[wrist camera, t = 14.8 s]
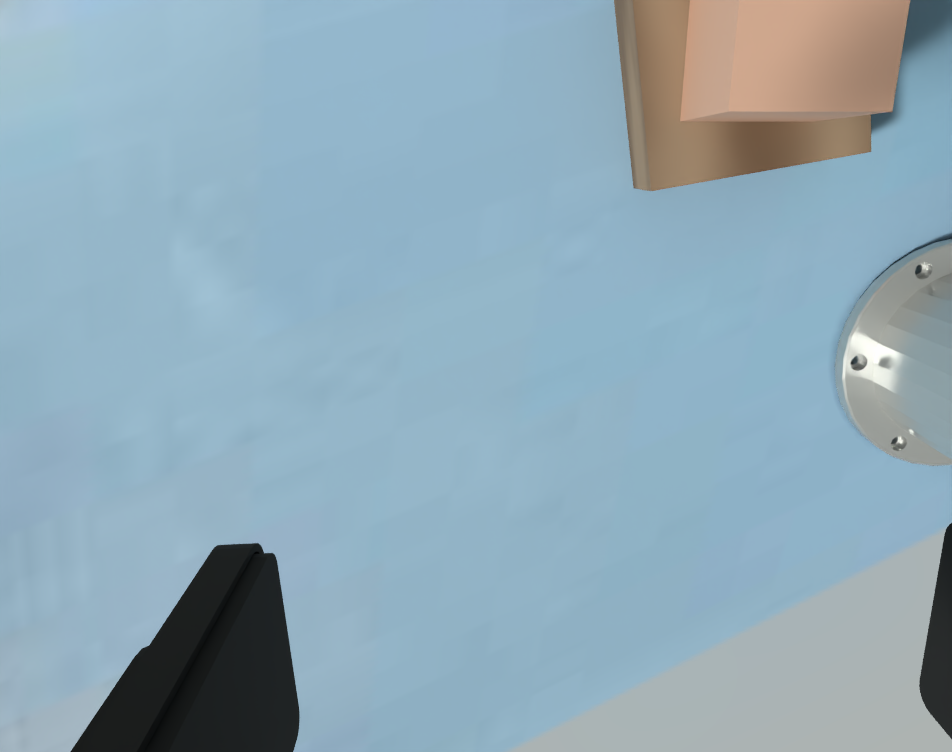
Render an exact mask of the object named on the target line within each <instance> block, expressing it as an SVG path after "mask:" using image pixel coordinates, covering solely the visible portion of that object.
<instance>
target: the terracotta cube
mask: <svg viewBox="0 0 952 752" xmlns="http://www.w3.org/2000/svg"><path fill="white" fill-rule="evenodd" d="M909 5H910V0H690V4H689V16H688V29H687V41H686V54H685V66H684V79H683V91H682V104H681V116H680V122H815V121H823V120H831V119H838V118H846V117H854V116H862V115H870V114H878V113H886V112H892V110H893V104H894V97H895V91H896V85H897V79H898V73H899V67H900V60H901V54H902V48H903V42H904V36H905V30H906V23H907V17H908V11H909Z"/></svg>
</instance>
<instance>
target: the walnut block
mask: <svg viewBox="0 0 952 752" xmlns="http://www.w3.org/2000/svg"><path fill="white" fill-rule="evenodd" d="M614 4H615V14H616V23H617V33H618V42H619V52H620V62H621V71H622V81H623V90H624V100H625V110H626V119H627V129H628V138H629V148H630V158H631V167H632V177H633V186H634V188H636V189H642V190H648V191H655V190H660V189H666V188H671V187H677V186H683V185H688V184H694V183H699V182H705V181H710V180H716V179H722V178H727V177H733V176H738V175H744V174H750V173H755V172H761V171H766V170H772V169H777V168H783V167H789V166H794V165H800V164H805V163H811V162H817V161H822V160H828V159H833V158H839V157H844V156H850V155H856V154H861V153H867V152H871V114H870V115H862V116H854V117H846V118H838V119H831V120H823V121H815V122H680V116H681V104H682V91H683V79H684V66H685V54H686V41H687V29H688V16H689V4H690V0H614Z"/></svg>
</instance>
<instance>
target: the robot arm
mask: <svg viewBox="0 0 952 752" xmlns="http://www.w3.org/2000/svg"><path fill="white" fill-rule="evenodd" d="M916 267H917V269H916ZM915 270H916V271H915ZM853 358H854V359H853ZM852 359H853V361H852ZM851 361H852V362H851ZM835 379H836V388H837V392H838V395H839V399H840V403H841V405H842V407H843V409H844V411H845V413H846V415H847V417H848V419H849V421H850V422H851V423H852V424H853V426H854V427H855V428H856V429H857V430H858V432H859V433H860V434H861V435H862V436H863V437H865V438H866V439H867V440H869V441H870V442H871V443H872V444H874V445H875V446H876V447H878V448H879V449H881V450H883V451H884V452H886V453H887V454H889V455H891V456H893V457H896V458H899V459H902V460H904V461H907V462H910V463H915V464H922V465H930V466H942V465H952V239H948V240H944V241H939V242H935V243H933V244H931V245H928V246H926V247H924V248H921V249H919V250H917V251H914V252H912V253H911V254H909V255H907V256H906V257H904V258H903V259H901V260H900V261H898V262H896V263H895V264H893V265H892V266H891V267H889V268H888V269H887V270H886V271H885V272H884V273H883V274H882V275H880V276H879V277H878V278H877V279H876V280H875V281H874V282H873V283H872V284H871V285H870V286H869V288H868V289H867V290H866V291H865V293H864V294H863V295H862V296H861V297H860V299H859V300H858V301H857V303H856V305H855V306H854V308H853V310H852V312H851V314H850V315H849V317H848V319H847V321H846V323H845V326H844V328H843V331H842V334H841V337H840V340H839V342H838V348H837V354H836V360H835ZM919 686H920V693H921V696H922V699H923V702H924V704H925V706H926V708H927V709H928V711H929V712H930V714H931V715H932V716H933V717H934V718H935V720H936V721H937V722H938V723H939V724H940V725H941V727H942V728H943V729H944V730H945V732H946V733H947V734H948V735H949V736H950V738H951V739H952V523H951V524H950V525H949V526H948V527H947V529H946V532H945V536H944V542H943V548H942V553H941V559H940V565H939V571H938V577H937V582H936V588H935V594H934V600H933V606H932V612H931V618H930V624H929V629H928V635H927V641H926V647H925V653H924V658H923V665H922V670H921V676H920V685H919ZM298 730H299V705H298V698H297V692H296V685H295V678H294V672H293V665H292V658H291V652H290V645H289V638H288V632H287V625H286V618H285V612H284V605H283V598H282V591H281V585H280V578H279V571H278V565H277V560H276V557H275V555H274V554H273V553H265V554H264V552H263V549H262V547H261V545H259V544H258V543H254V544H232V545H218V546H216V547H215V548H214V549H213V550H212V552H211V553H210V555H209V556H208V558H207V559H206V561H205V562H204V564H203V565H202V567H201V568H200V570H199V571H198V573H197V574H196V576H195V577H194V579H193V580H192V582H191V583H190V585H189V586H188V588H187V589H186V591H185V592H184V594H183V595H182V597H181V598H180V600H179V601H178V603H177V605H176V606H175V608H174V609H173V611H172V612H171V614H170V615H169V617H168V618H167V620H166V621H165V623H164V624H163V626H162V627H161V629H160V630H159V632H158V633H157V635H156V636H155V638H154V639H153V641H152V642H151V644H150V645H149V646H147V647H145V648H143V649H141V650H140V652H139V653H138V654H137V655H136V656H135V657H134V659H133V660H132V662H131V663H130V665H129V666H128V668H127V669H126V671H125V672H124V673H123V675H122V676H121V678H120V679H119V681H118V682H117V684H116V685H115V687H114V688H113V690H112V691H111V693H110V694H109V696H108V697H107V699H106V700H105V702H104V703H103V705H102V706H101V707H100V709H99V710H98V712H97V713H96V715H95V716H94V718H93V719H92V721H91V722H90V724H89V725H88V727H87V728H86V730H85V731H84V733H83V734H82V736H81V737H80V739H79V740H78V742H77V743H76V744H75V746H74V747H73V749H72V750H71V752H293V750H294V747H295V744H296V740H297V736H298Z"/></svg>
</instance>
